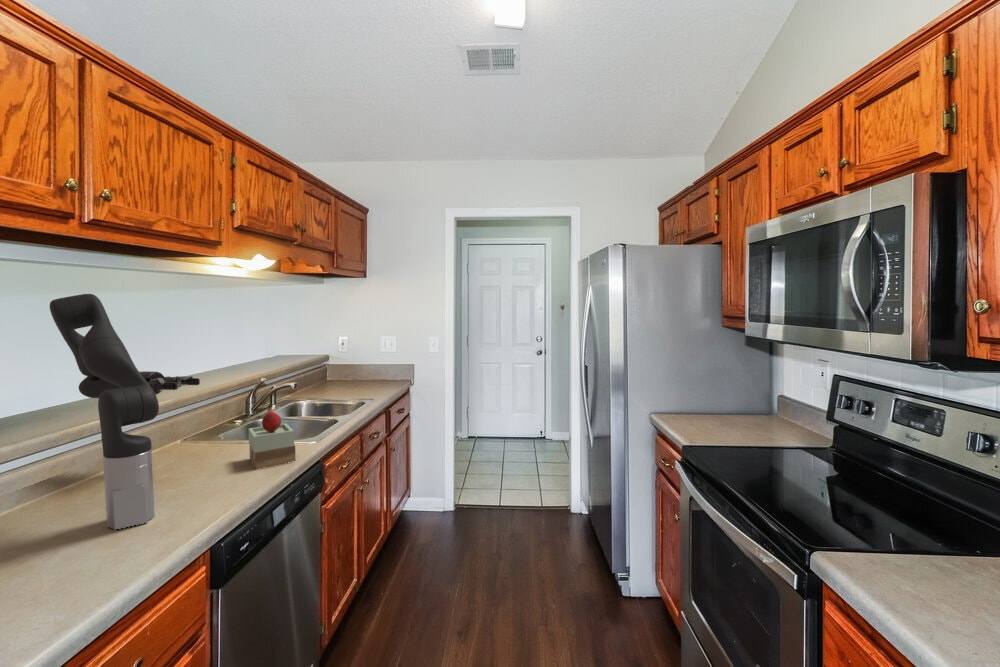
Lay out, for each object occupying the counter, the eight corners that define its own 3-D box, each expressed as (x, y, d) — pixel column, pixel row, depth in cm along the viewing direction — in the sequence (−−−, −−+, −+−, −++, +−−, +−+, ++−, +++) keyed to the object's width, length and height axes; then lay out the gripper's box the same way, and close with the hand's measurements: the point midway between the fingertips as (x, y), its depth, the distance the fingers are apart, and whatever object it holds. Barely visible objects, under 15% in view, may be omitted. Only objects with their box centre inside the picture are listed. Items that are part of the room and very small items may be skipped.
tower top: (294, 445, 154) (293, 430, 153) (254, 452, 146) (254, 436, 146) (286, 437, 163) (286, 423, 163) (248, 443, 156) (248, 428, 156)
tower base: (295, 462, 154) (295, 445, 154) (256, 470, 147) (255, 452, 147) (287, 453, 164) (286, 437, 163) (249, 460, 156) (249, 443, 156)
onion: (273, 435, 151) (273, 412, 151) (258, 435, 152) (257, 411, 152) (284, 431, 157) (284, 408, 157) (269, 430, 158) (269, 407, 157)
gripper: (121, 374, 139) (168, 375, 136) (161, 368, 153) (205, 369, 151) (122, 398, 139) (169, 400, 137) (163, 390, 153) (206, 391, 151)
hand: (188, 383), depth 144 cm, fingers open, 8 cm apart
